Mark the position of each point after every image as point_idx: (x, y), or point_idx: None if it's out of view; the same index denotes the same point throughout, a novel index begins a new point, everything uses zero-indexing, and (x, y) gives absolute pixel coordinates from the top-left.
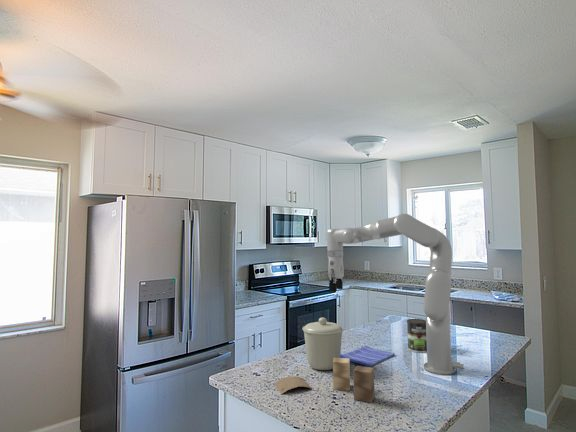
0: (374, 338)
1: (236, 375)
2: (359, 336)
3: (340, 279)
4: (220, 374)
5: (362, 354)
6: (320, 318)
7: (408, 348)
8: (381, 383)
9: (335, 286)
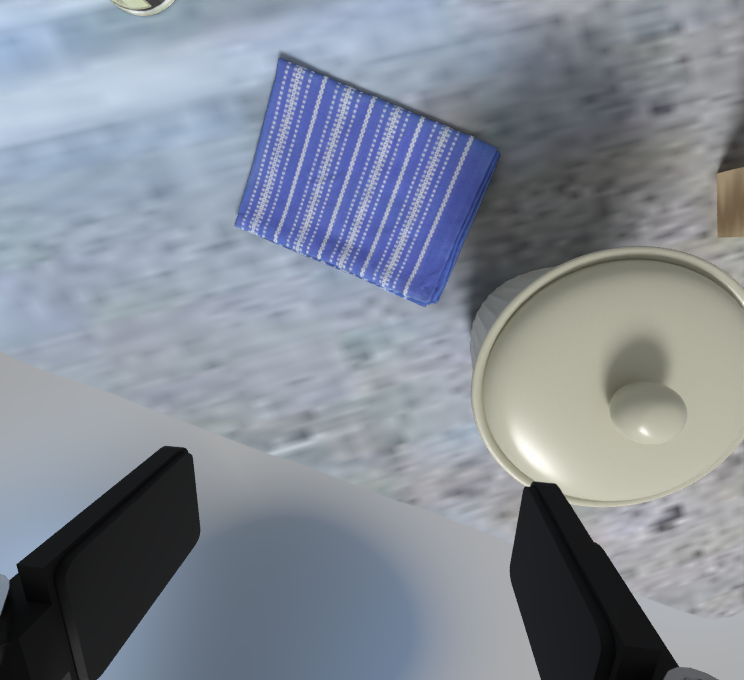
0: (77, 219)
1: (695, 568)
2: (84, 293)
3: (4, 648)
4: (696, 611)
5: (343, 212)
6: (675, 434)
7: (162, 4)
8: (672, 43)
9: (604, 566)
